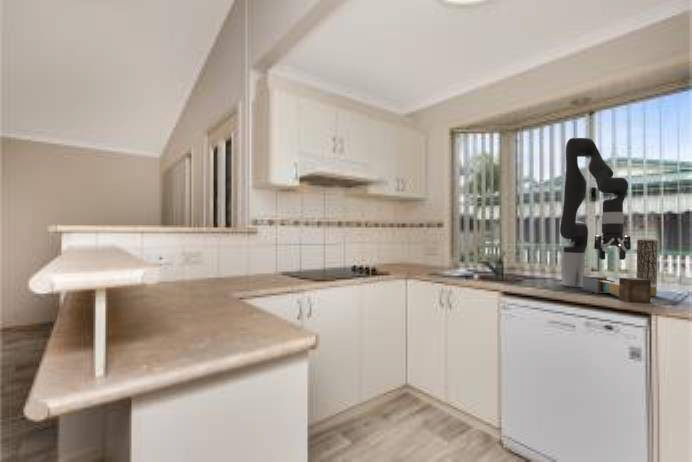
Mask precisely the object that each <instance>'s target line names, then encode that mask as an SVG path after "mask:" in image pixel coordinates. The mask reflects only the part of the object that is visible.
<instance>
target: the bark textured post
mask: <svg viewBox="0 0 692 462" xmlns="http://www.w3.org/2000/svg"><path fill="white" fill-rule="evenodd" d="M658 242H659V241H658V239H657V238H655V239H654V238H637V239H636V276H635V278H642V279H648V280H651V297H656V296H657V289H658Z"/></svg>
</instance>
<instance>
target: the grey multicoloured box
mask: <svg viewBox="0 0 692 462" xmlns="http://www.w3.org/2000/svg"><path fill="white" fill-rule="evenodd" d="M595 279H600V280H605V281H610V282H615V283H616V281H615V280H611V279H608V277H607V276H603V275H586V274H585V275H583V286H582V287H581V291H584V292H585V291H586V292H588V291H589V292H588V293H592V292H594V293H593V294H596V293H606V292H602V291H601V281H600V280H595Z"/></svg>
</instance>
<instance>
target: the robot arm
mask: <svg viewBox="0 0 692 462" xmlns="http://www.w3.org/2000/svg"><path fill="white" fill-rule="evenodd" d="M564 151H565V181H564V191H563V193H564V195H563V208H562V216H561V220H560V225H559V226H560V228H559V233H560V236H561V237H562V239H565V240H570V241H569V243H568V244H566V245H564V246H563V253H562V255H563V257H562V258H563V259H562V266H561V267H562V269H561V271H562V272H561V284H562V285H563V286H565V287H571V288H572V287H573V288H582V286H583V275H586V274H585V273H586V271H585V270H586V249H587V246H588V239H589V228H588V225H587V224H586V223H585V222H583V221H580V220H579V221H577V213H578V210H579V208H580V206H581V205H582V203H583V201H584V200H585V198H586V195H587V180H586V178H585V175H584V174H583V172H582V171H581V169H580V167H579V163H578V162H579V161H578V157H581V158H583V157H584V158H586V159H587V160H588V161H589V162H588V167H587V169H588V171H589V174H591V176H592V178H594V179H595V184H596V188H597V190H598V191H599V192H600V193H602V194H612V197H611V198H608V199H607V198H606V199H604V200H603V202H602V216H601V234H602V235H595V236H594V243H593V244H594V245H593V249H594V250H597V251H598V258H599V260H606V250H607V248H609V247H614V246H615V247H616V248H617V249H618V251H619V253H618V259H619V260H620V261H623V260H624V261H625V259H626V258H627V251H631V249H632V246H631V245H632V244H631V236H629V235H623V234H624V225H625V224H624V201H625V199H626V195H627V193H628V190H629V189H628V188H629V182H628V180H627V179H626V178H625V177H613V176H614V171H613V170H612V168H611V167H610V166H609V165H608V164H607V163H606V162H605V160H604V158H603V157H602V156H601V153H600V151H599V149H598V147H597V144H596V143H595V142H594V141H593V139H592V138H589V137H571V138H569V139H568V140H567V142H566V145H565V150H564Z"/></svg>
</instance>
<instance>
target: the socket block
mask: <svg viewBox="0 0 692 462" xmlns="http://www.w3.org/2000/svg"><path fill="white" fill-rule="evenodd" d="M618 278H619V279H618V281H619V282H618V283H619V295H618V300H620V301H622V302H627V303H646V302H650V303H651V298H652V296H651V280H648V279H642V278H636V277H618Z"/></svg>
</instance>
